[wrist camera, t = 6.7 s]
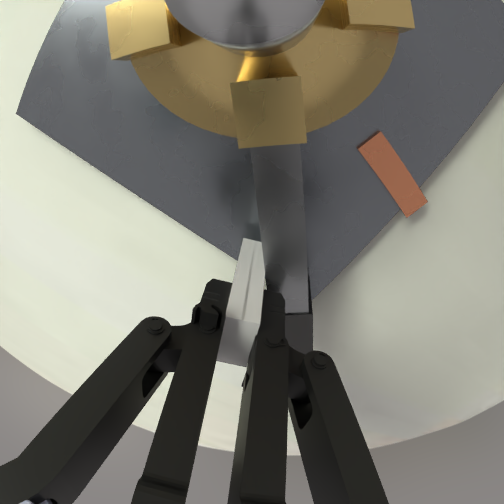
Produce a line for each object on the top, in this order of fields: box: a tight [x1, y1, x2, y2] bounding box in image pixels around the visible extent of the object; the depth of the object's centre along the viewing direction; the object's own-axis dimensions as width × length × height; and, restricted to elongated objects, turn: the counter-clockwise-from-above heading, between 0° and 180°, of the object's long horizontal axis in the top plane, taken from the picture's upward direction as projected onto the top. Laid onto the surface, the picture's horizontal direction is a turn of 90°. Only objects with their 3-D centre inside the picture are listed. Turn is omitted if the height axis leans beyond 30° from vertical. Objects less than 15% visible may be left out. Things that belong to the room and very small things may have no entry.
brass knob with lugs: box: [105, 0, 415, 355], centre depth 14 cm, size 24×11×5 cm, turn 7°
